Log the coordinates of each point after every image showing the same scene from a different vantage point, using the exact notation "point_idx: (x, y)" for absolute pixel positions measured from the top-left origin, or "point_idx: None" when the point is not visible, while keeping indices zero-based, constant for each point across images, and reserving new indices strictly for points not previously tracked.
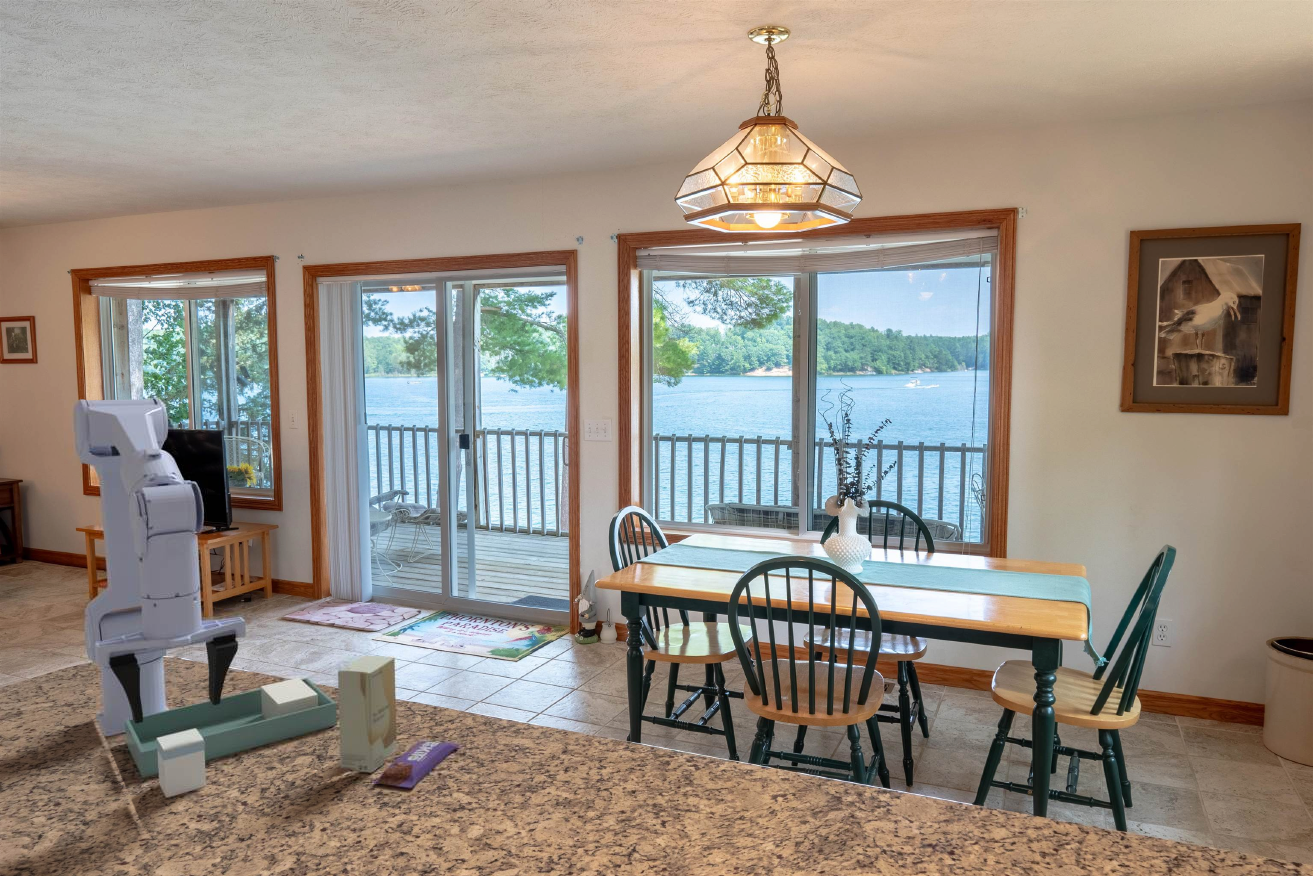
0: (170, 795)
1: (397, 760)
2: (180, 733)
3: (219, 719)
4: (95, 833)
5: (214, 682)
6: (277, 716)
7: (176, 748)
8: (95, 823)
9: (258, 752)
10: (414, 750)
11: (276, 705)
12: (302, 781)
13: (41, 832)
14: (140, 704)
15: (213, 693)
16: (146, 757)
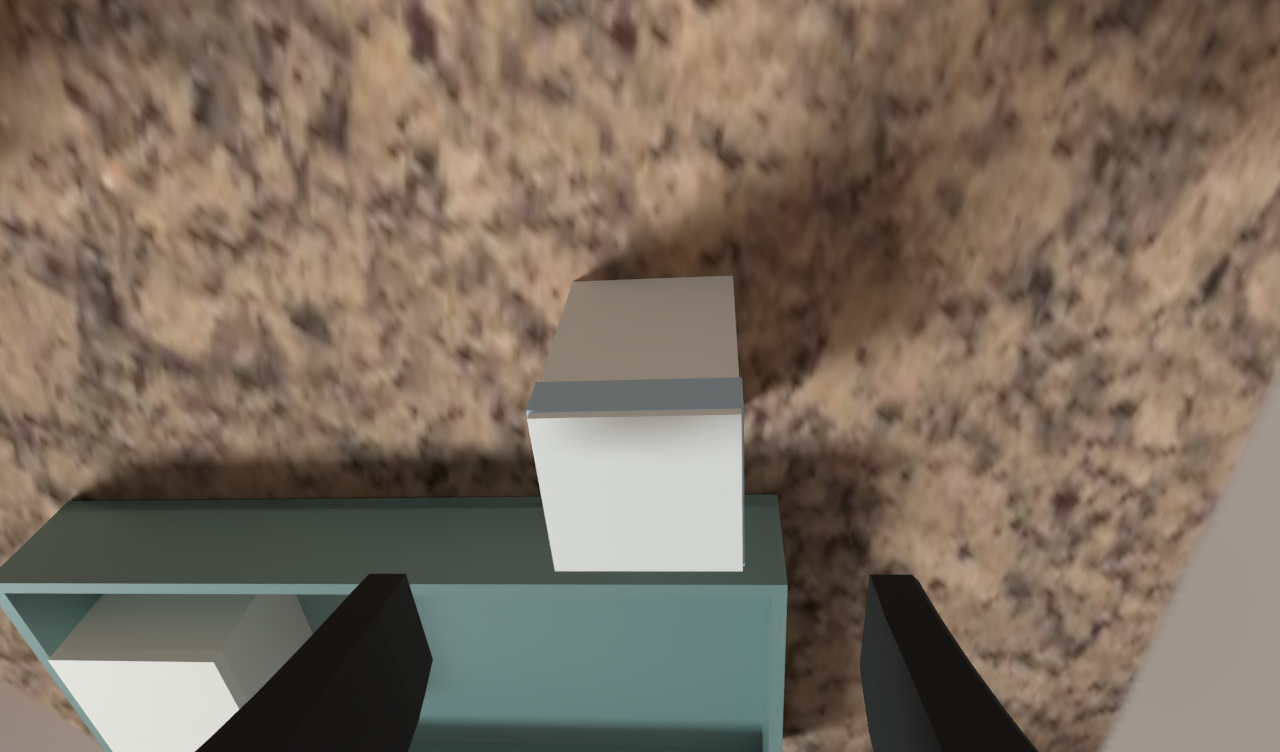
0: (715, 287)
1: None
2: (631, 556)
3: (483, 747)
4: (1043, 163)
5: (320, 723)
6: (253, 624)
7: (673, 409)
8: (1013, 259)
9: (363, 481)
10: None
11: (232, 668)
12: (160, 99)
13: (1197, 312)
14: (919, 683)
15: (371, 648)
16: (765, 564)
